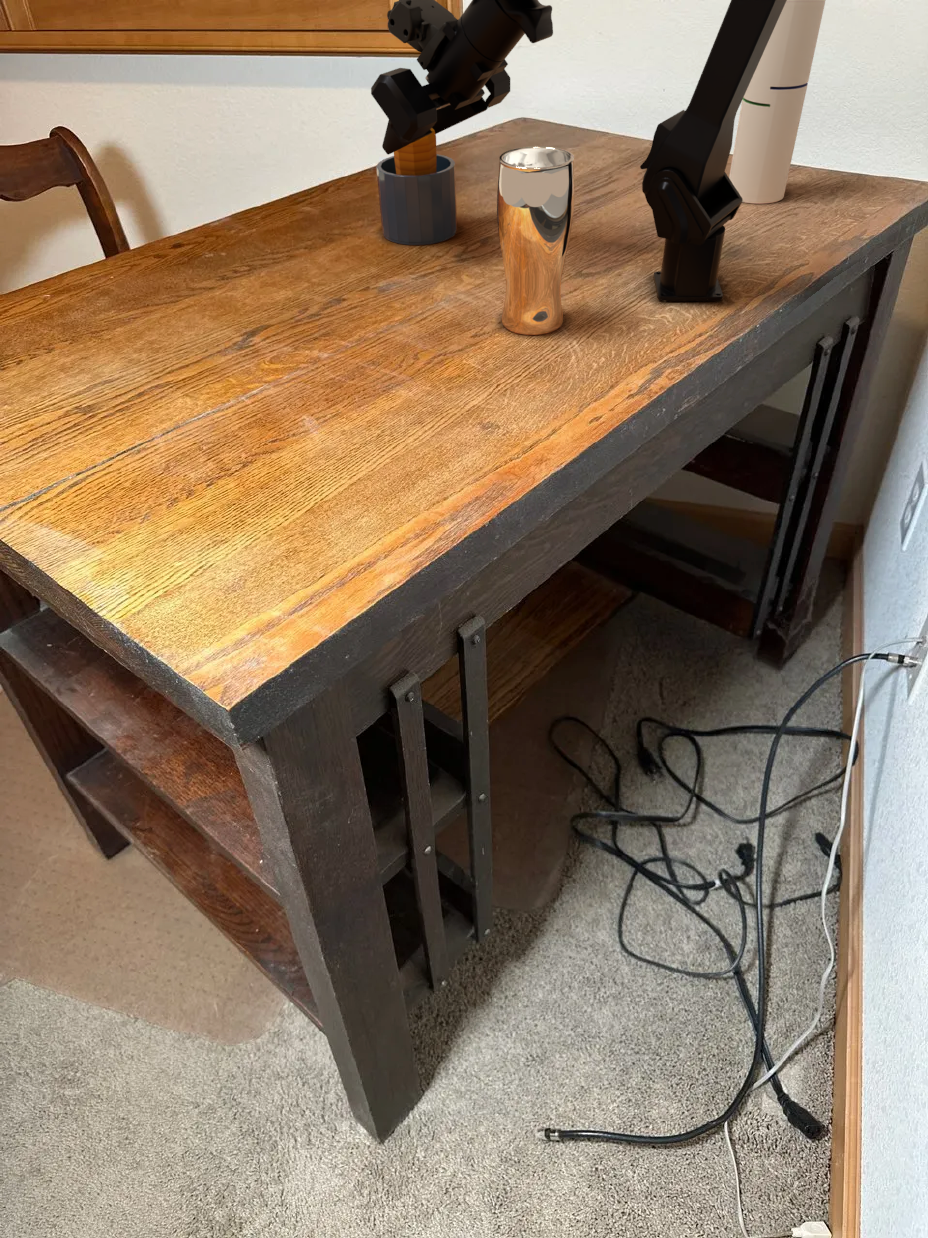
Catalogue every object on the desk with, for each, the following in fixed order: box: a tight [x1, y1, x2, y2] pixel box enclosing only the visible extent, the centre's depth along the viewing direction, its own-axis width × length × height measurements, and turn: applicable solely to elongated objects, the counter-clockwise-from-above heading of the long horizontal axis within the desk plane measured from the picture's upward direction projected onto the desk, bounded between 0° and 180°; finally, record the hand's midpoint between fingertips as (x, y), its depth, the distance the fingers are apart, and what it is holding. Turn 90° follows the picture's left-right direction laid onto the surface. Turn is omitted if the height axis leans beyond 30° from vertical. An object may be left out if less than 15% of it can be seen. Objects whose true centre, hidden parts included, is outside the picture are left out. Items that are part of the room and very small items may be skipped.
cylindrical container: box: [728, 0, 826, 205], centre depth 103 cm, size 7×7×25 cm
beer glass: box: [496, 145, 575, 336], centre depth 81 cm, size 7×7×15 cm
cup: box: [376, 153, 458, 246], centre depth 103 cm, size 9×9×8 cm
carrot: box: [393, 128, 437, 175], centre depth 100 cm, size 5×5×15 cm
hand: (404, 142), depth 99 cm, fingers open, 7 cm apart
